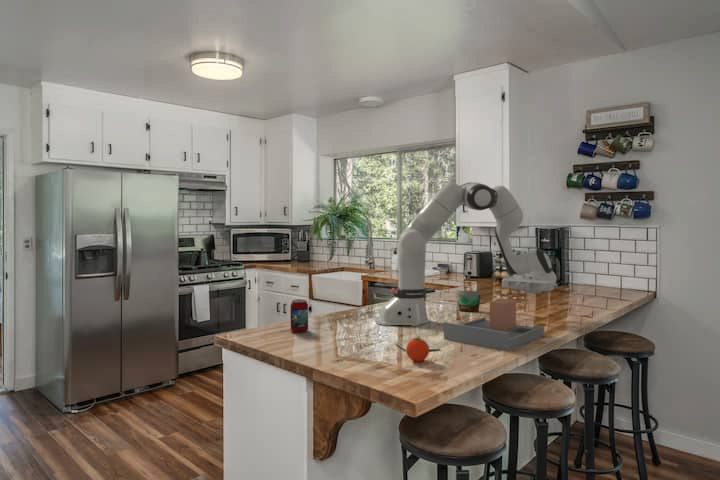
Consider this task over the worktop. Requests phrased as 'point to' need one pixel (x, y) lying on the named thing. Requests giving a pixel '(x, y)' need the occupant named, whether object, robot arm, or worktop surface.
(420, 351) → the red tomato
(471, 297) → the potted plant
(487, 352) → the worktop surface
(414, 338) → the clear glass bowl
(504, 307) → the block
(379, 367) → the worktop surface
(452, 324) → the tray
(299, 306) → the beverage can
